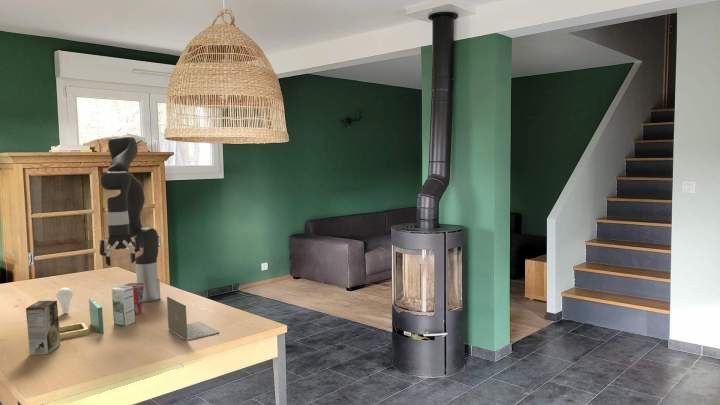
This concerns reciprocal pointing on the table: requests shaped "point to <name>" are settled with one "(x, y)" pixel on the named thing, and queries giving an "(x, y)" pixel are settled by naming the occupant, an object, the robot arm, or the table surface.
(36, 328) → the coffee box
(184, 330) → the laptop
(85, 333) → the tan and teal pieces
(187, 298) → the table surface
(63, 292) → the lightbulb
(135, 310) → the cup
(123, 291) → the syrup box
